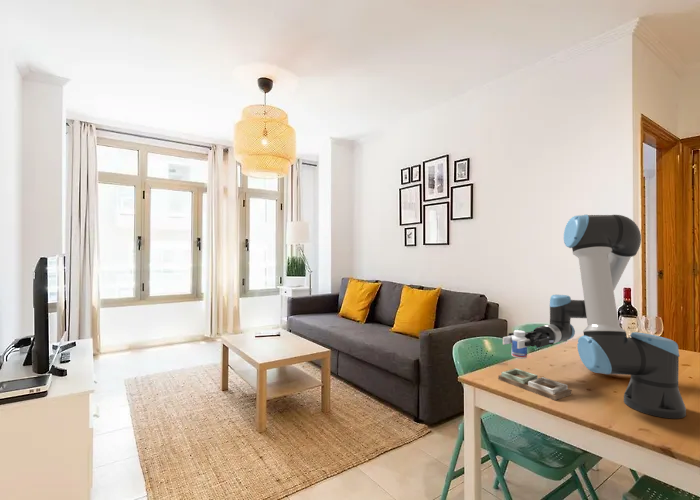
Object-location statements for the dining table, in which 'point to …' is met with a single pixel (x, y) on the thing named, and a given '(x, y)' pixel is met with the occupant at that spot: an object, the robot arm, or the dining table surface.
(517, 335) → the pill bottle
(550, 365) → the dining table surface
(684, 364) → the dining table surface
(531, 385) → the board
